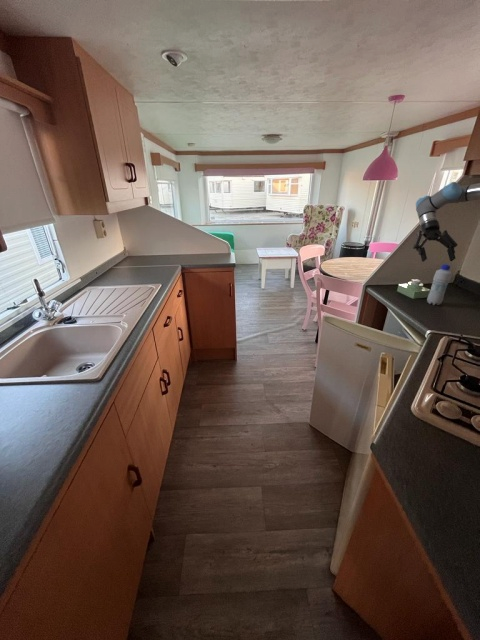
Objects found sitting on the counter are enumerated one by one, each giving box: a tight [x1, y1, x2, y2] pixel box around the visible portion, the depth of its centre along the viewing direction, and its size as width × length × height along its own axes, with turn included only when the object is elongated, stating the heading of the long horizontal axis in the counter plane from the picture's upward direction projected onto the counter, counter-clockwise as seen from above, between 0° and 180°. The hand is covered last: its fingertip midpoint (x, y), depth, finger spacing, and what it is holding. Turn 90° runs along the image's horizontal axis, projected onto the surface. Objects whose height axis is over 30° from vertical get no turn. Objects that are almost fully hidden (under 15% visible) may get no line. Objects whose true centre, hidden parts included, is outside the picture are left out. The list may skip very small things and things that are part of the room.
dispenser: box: [396, 281, 431, 300], centre depth 145 cm, size 12×10×6 cm
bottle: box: [426, 264, 453, 306], centre depth 129 cm, size 7×7×20 cm
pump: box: [410, 278, 422, 285], centre depth 143 cm, size 4×4×2 cm
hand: (438, 260), depth 130 cm, fingers open, 13 cm apart
